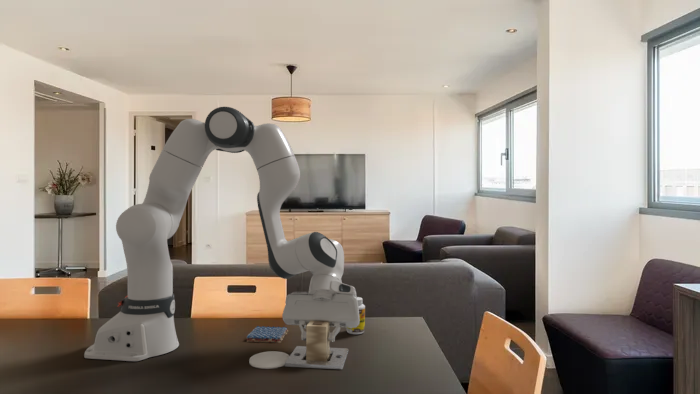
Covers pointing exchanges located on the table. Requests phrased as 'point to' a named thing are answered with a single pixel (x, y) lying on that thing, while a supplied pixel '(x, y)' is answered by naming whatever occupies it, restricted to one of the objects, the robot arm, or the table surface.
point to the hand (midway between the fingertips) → (317, 340)
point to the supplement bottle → (361, 326)
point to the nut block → (317, 340)
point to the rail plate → (335, 362)
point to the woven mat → (267, 334)
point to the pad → (268, 360)
